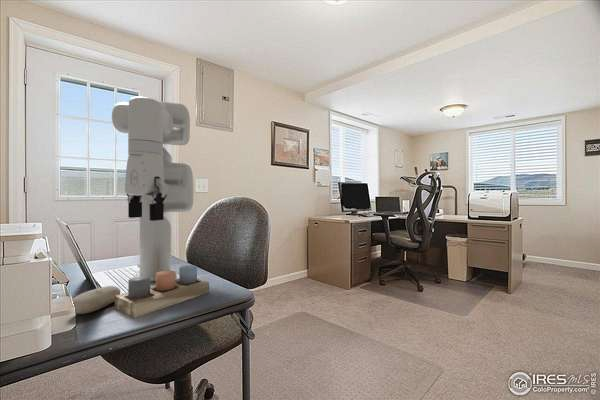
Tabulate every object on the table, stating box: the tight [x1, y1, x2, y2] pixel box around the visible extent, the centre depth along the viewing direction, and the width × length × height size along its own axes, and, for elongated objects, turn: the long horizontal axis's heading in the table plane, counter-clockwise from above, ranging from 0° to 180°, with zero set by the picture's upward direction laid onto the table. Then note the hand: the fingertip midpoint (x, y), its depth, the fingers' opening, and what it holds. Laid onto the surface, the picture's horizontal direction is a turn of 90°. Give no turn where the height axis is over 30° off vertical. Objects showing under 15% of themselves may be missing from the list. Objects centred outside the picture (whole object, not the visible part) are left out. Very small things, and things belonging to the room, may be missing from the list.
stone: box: [71, 285, 121, 315], centre depth 71 cm, size 6×6×12 cm
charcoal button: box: [127, 276, 151, 298], centre depth 72 cm, size 5×5×4 cm
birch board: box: [114, 278, 210, 319], centre depth 78 cm, size 10×21×3 cm, turn 147°
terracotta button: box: [155, 269, 176, 290], centre depth 77 cm, size 5×5×4 cm
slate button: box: [178, 264, 198, 284], centre depth 83 cm, size 5×5×4 cm
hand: (145, 218), depth 71 cm, fingers open, 9 cm apart
